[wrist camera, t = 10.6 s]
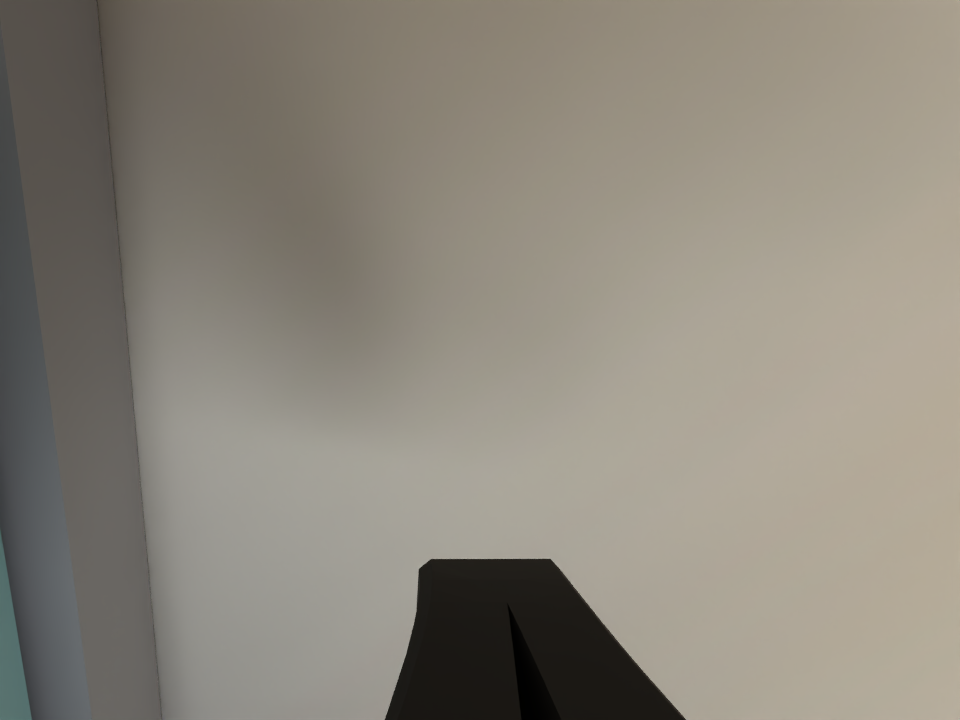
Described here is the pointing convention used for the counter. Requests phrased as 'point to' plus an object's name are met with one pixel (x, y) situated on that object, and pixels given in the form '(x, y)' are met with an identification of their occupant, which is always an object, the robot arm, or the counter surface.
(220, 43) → the counter surface
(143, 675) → the housing
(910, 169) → the counter surface
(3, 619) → the keeper plate
